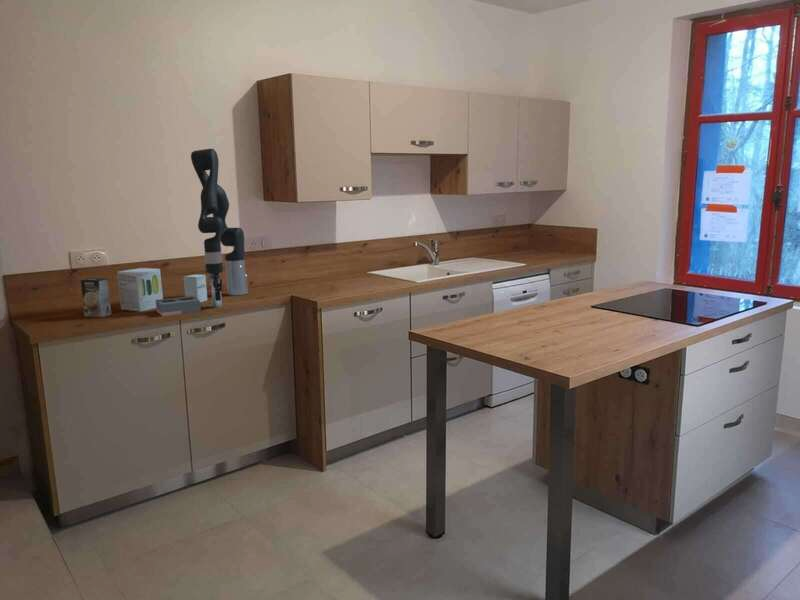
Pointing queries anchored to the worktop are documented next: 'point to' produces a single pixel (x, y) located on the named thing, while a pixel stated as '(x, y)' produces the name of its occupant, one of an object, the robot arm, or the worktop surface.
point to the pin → (215, 303)
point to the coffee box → (96, 297)
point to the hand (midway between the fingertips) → (216, 299)
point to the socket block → (178, 305)
